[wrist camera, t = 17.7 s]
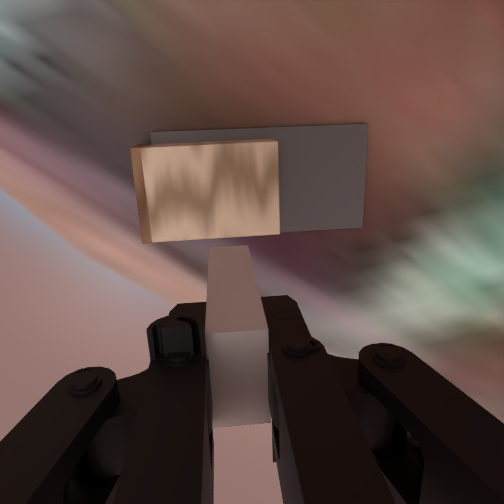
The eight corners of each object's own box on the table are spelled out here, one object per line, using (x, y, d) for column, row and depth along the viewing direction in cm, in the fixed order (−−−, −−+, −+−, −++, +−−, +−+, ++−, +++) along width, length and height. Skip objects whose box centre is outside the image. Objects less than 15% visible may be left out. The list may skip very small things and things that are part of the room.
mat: (151, 132, 37) (150, 132, 36) (366, 123, 38) (368, 123, 38) (162, 237, 40) (162, 239, 39) (360, 226, 41) (362, 227, 41)
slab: (271, 138, 37) (138, 144, 37) (278, 140, 33) (129, 147, 33) (273, 223, 40) (149, 230, 39) (279, 234, 36) (142, 243, 35)
